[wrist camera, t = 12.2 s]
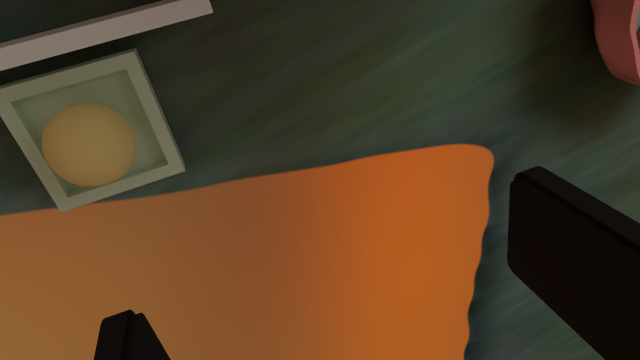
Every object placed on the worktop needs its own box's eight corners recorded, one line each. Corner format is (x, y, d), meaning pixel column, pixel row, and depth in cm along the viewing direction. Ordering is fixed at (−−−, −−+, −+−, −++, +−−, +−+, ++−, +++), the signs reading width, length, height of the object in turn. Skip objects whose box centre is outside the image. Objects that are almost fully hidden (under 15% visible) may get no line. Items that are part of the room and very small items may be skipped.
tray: (135, 47, 32) (134, 51, 31) (184, 162, 37) (185, 171, 36) (-6, 86, 31) (-15, 92, 29) (65, 202, 36) (61, 212, 34)
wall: (201, -10, 32) (207, -7, 28) (207, 6, 33) (213, 12, 28) (-92, 67, 29) (-137, 84, 24) (-80, 84, 29) (-122, 104, 25)
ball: (120, 82, 32) (108, 105, 27) (152, 152, 35) (147, 184, 30) (37, 106, 32) (9, 134, 26) (77, 175, 34) (60, 212, 29)
